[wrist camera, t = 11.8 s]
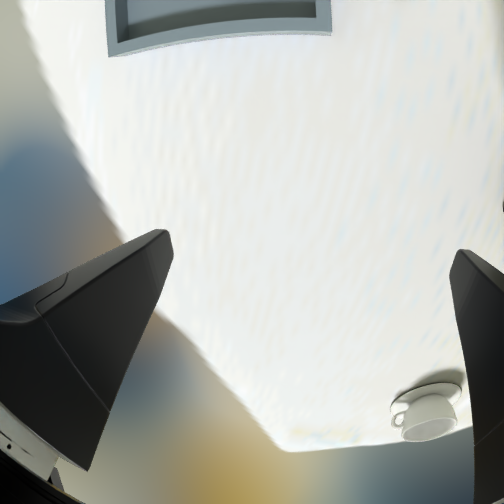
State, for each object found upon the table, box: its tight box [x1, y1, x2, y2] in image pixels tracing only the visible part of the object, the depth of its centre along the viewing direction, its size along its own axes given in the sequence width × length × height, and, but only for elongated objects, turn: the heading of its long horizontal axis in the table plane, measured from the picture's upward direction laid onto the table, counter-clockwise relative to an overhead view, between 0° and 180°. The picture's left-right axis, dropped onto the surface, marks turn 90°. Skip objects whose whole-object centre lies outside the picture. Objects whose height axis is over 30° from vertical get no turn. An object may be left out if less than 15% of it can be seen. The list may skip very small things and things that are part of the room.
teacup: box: [390, 383, 461, 442], centre depth 30 cm, size 10×10×5 cm
